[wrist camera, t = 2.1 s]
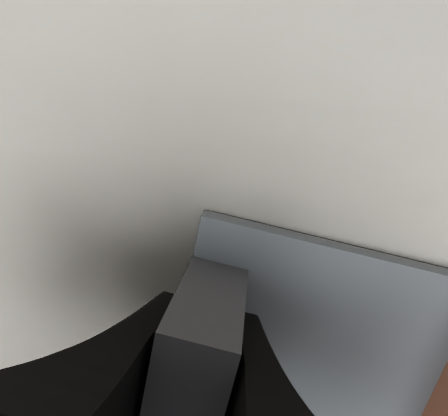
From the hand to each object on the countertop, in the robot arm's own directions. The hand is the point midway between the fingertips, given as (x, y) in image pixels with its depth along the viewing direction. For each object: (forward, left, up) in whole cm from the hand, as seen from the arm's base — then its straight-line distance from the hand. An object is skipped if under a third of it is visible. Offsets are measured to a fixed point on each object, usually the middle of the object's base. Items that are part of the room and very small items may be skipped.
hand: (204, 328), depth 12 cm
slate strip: (0, -7, -2) cm, 7 cm away
